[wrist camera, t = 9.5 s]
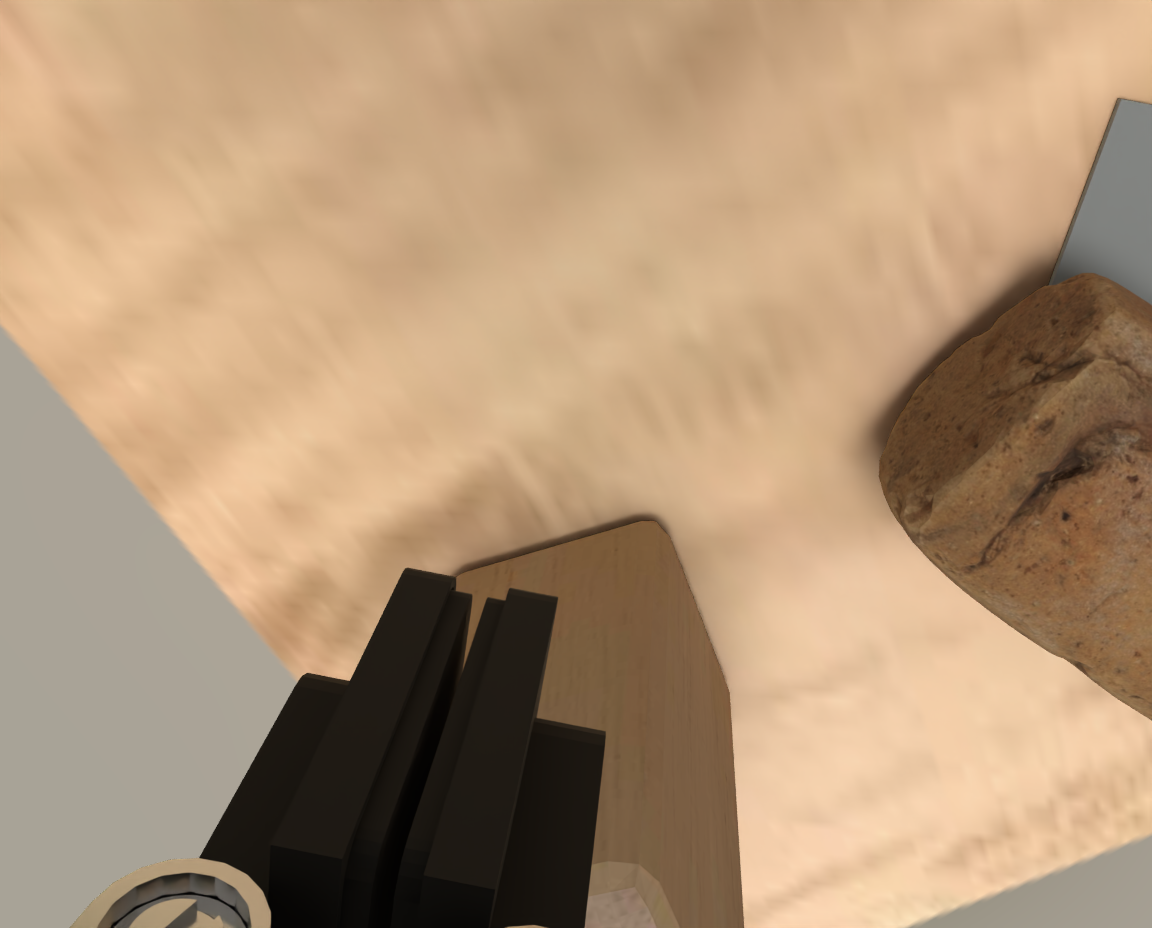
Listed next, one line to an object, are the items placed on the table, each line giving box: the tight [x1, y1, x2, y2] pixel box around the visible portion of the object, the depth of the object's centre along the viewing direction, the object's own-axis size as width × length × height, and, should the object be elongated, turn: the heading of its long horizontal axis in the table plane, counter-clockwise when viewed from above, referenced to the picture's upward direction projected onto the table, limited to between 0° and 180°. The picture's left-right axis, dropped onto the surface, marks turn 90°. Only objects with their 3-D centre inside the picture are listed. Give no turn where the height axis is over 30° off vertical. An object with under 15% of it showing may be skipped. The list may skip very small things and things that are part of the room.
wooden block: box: [456, 521, 744, 928], centre depth 37 cm, size 10×10×20 cm
